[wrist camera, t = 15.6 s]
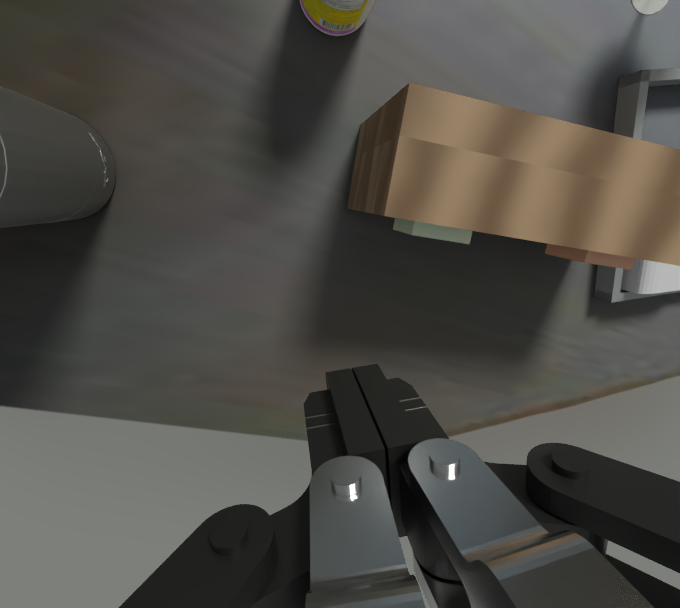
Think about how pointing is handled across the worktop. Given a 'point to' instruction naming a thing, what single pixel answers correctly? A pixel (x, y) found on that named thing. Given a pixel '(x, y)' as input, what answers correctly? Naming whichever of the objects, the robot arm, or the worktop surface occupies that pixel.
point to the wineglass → (649, 5)
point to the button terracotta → (590, 256)
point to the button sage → (432, 231)
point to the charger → (651, 277)
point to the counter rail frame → (631, 125)
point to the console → (517, 176)
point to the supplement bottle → (337, 14)
